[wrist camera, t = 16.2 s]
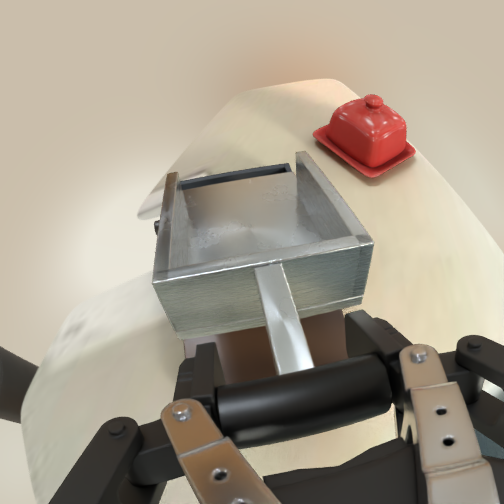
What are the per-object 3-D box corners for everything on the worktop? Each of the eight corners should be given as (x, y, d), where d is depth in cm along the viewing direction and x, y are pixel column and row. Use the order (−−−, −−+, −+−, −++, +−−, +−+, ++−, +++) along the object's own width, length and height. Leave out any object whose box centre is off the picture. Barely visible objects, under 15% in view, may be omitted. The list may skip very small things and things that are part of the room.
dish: (414, 421, 11) (461, 370, 8) (186, 474, 10) (138, 446, 7) (293, 179, 28) (290, 127, 24) (182, 198, 27) (169, 147, 24)
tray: (183, 261, 32) (177, 247, 30) (179, 197, 37) (175, 182, 35) (310, 238, 32) (312, 223, 30) (288, 178, 38) (288, 162, 35)
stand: (355, 366, 25) (388, 334, 18) (192, 399, 24) (159, 380, 17) (317, 246, 32) (327, 186, 25) (179, 271, 31) (154, 216, 24)
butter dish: (368, 187, 36) (383, 131, 29) (307, 140, 42) (310, 87, 35) (417, 158, 39) (433, 109, 32) (360, 118, 45) (368, 72, 38)
